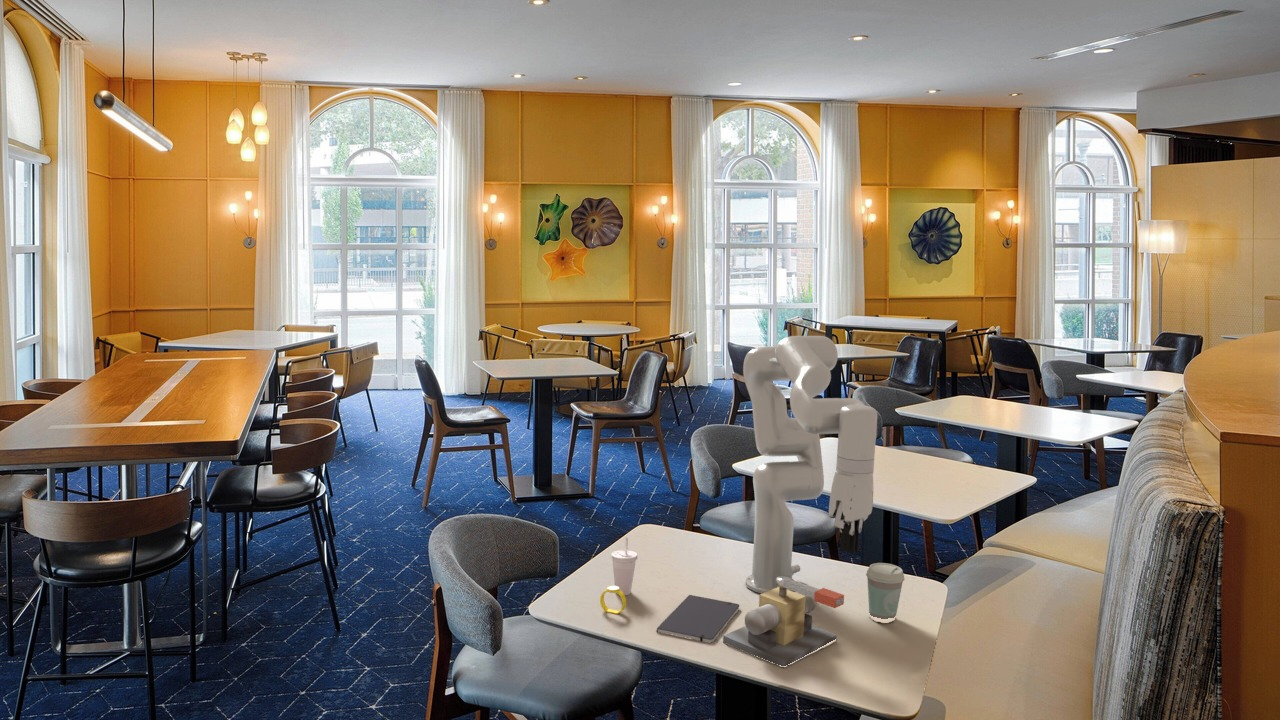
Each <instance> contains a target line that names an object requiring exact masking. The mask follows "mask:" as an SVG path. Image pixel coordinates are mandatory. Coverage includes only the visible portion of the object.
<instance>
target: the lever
mask: <svg viewBox="0 0 1280 720" xmlns="http://www.w3.org/2000/svg"><path fill="white" fill-rule="evenodd" d="M776 585H777V586H778V587H782V588H787V589H790V590H792V591H794V592H798V593H801V594H804V595H807V596H809V597H812V598H814V601H816V602H817V604H822V605H825V606H827V607H830V608H832V609H837V608H839V607H840V606H843V605H844V603H845V594H842V593H839V592H837V591H834V590H831V589H828V588H825V587H822V588H820V589H819V588H817V587H814V586H812V585H809V584H806V583H802V582H800V581H796V580H794V579H793V580H791V579H790V578H789V577H785V576H779V577H777V578H776Z"/></svg>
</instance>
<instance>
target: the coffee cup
mask: <svg viewBox="0 0 1280 720" xmlns="http://www.w3.org/2000/svg"><path fill="white" fill-rule="evenodd" d="M865 575H866V577H867V596H868V598H867V599H868V613H870V615H871V616H873V617H877V618H881V619H888V618H894V617H895V616H896V617H897V613H898V608H899V602H900V597H901V593H902V588H903V582H904V581H905V579H906V578H905V575H904V572H903V569H902V567H900V566H897V565H895V564H892V563H886V562H877V563H875V562H874V563H872V564H870V565H869V567H868V569H867V571H866V574H865Z"/></svg>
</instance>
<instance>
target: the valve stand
mask: <svg viewBox="0 0 1280 720" xmlns="http://www.w3.org/2000/svg"><path fill="white" fill-rule="evenodd" d="M758 596H759V597H758V598H759V599H758V600H759V601H758V607H757V608H754V609H752V610H750V611H749V610H748V612H747V613H745V616H744V624H745V625H744V626H743V627H740V628H738V629H736V630H733V631H731V632H728V633H726V634H724V635H723V637H722V639H723V640H722V643H724V644H726V645H728V644H729V645H728V646H731V647H733V648H735V647H736V649H738V650H740V649H741V650H740V651H742V650H743V651H742V652H745V653H747V654H749V655H751V654H752V656H754V655H755V656H754V657H756V656H758V657H760V658H759V659H761V658H763V659H765V660H768V661H770V662H773V663H775V664H778V665H781V666H786V665H788V664H790V663H792V662H794V661H796V660H798V659H800V658H802V657H804V656H805V655H807V654H809V653H811V652H813V651H815V650H817V649H818V648H820V647H822V646H824V645H826V644H827V643H829V642H831V641H833V640H835V639H836V640H837V634H836V633H835V634H834V633H833V632H829V631H827V630H824V629H822V628H819V627H816V626H814V625H813V615H812V614H811V615H810V614H809V613H810V612H813V611H814V610H815V609H816V608H817V605H818V602H816V601H814V598H812V597H809V596H807V595H804V594H801V593H798V592H795V591H794V592H793V591H790V590H787V588H782V587H777V588H775V589H772V590H770V591H767V592H765V593H759V595H758ZM758 657H757V658H758ZM763 659H762V660H763ZM765 660H764V661H765ZM768 661H767V662H768ZM770 662H769V663H770ZM775 664H774V665H775Z"/></svg>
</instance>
